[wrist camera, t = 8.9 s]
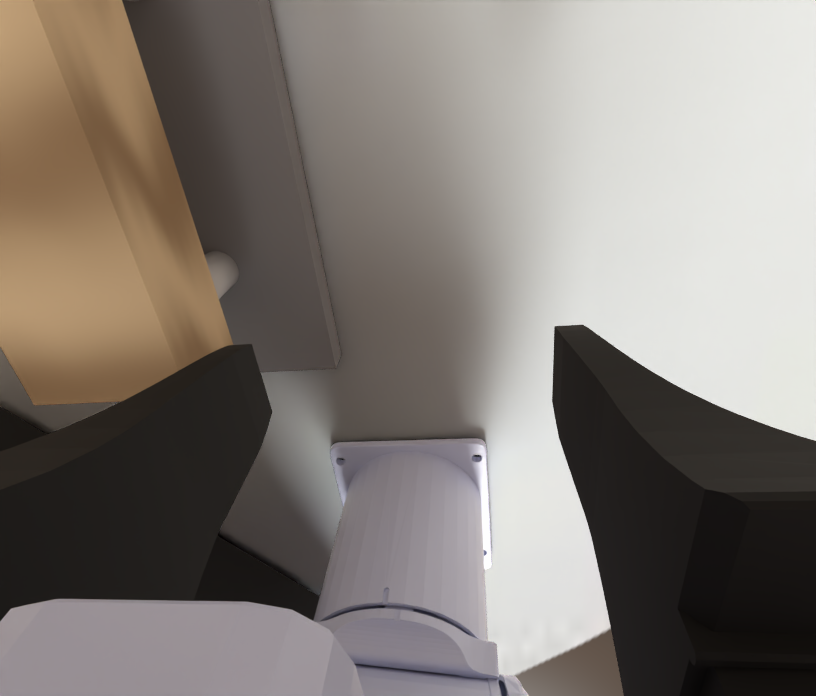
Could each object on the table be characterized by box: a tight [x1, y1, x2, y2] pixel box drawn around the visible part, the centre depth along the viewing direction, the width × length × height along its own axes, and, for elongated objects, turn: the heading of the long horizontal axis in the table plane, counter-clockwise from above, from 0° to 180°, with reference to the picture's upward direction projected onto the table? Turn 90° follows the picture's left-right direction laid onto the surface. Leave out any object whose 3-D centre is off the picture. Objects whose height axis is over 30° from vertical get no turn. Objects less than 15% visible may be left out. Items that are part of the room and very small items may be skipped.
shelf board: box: [0, 0, 233, 405], centre depth 14 cm, size 14×6×4 cm, turn 7°
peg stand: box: [122, 0, 341, 372], centre depth 18 cm, size 20×11×4 cm, turn 6°
